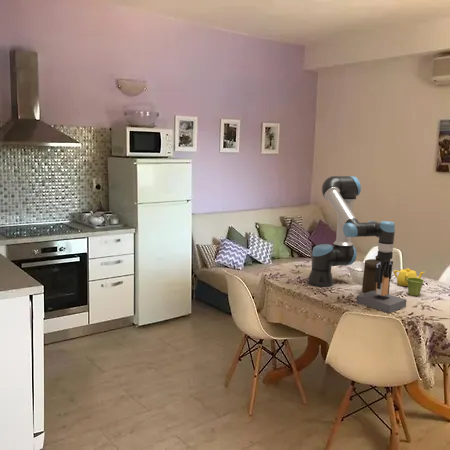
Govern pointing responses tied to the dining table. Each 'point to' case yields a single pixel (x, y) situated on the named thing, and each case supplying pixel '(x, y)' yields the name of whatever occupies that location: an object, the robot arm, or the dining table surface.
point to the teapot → (406, 276)
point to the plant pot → (414, 286)
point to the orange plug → (384, 286)
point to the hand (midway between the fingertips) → (381, 293)
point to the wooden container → (370, 275)
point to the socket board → (381, 301)
